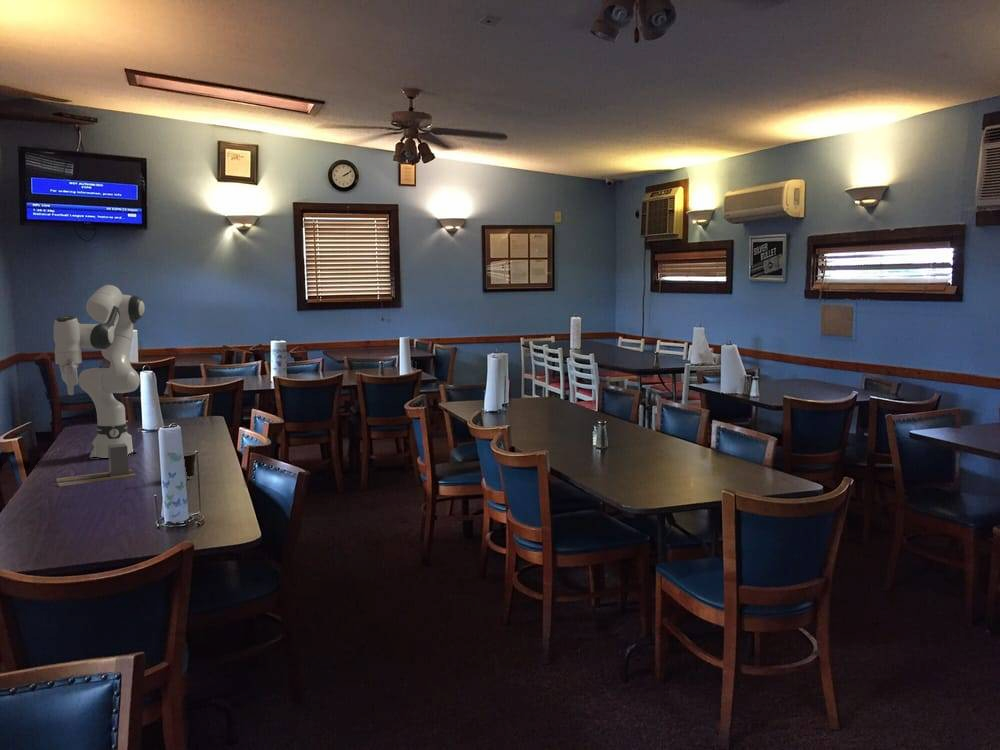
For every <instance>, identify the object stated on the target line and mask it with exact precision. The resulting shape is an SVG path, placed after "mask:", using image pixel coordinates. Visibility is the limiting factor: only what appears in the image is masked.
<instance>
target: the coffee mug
mask: <svg viewBox="0 0 1000 750" xmlns="http://www.w3.org/2000/svg"><path fill="white" fill-rule="evenodd" d="M183 451H184V459H185V467H186V472H187V476H189V477H190V476H193V475H194V476H195V468H196V454H197V453H196V451H192V450H191V451H190V450H189V451H188V450H186V451H185V450H183Z"/></svg>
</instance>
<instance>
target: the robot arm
mask: <svg viewBox="0 0 1000 750" xmlns="http://www.w3.org/2000/svg"><path fill="white" fill-rule="evenodd" d="M88 298H89V299H88V300H87V302H86V305H85V309H86V312H87V314H88V316H89V317H90V318H92V319H93V320H94V321H96V322H99V323H80V322H79V320H78V318H77V317H76V316H73V315H64V316H59V317H56V318H55V319H54V322H53V341H54V345H55V348H54V361H55V365H58V366H59V370H60V375H61V379H62V381H63V382H64V383H65V384H66V389H67V394H68V395H69V396H73V395H74V394H75V392H74V391H75V390H74V389H75V386H78V385H79V387H80V388H81V390H82V391H84V392H85V393H86V394H87V395H88V396H89V397H90V399H91V400H92V402H93V404H94V406H95V411H96V420H97V425H96V428H95V429H96V434H97V435H96V436H95V437H94V439H93V440H92V441H91V447H92V450H91V452H90V454H89V458H90V457H100V458H108V445H114V444H123V443H125V444H126V445H127V450H128V454H129V453H131V452H133V450H134V449H133V440H132V439H133V437H132V434H130V433H128V424H127V422H126V419H127V418H126V407H125V405H124V403H122V402H120V401H119V400H117V399H116V398H115V396H114V394H125V393H132V392H135V391H136V390H137V389H138V388H139V386H140V382H141V377H140V375H139V373H138V371H136V370H135V368H133V367H132V364H131V361H130V355H131V353H130V352H131V347H132V342H133V338H134V324H136V323H137V322H138V321H139V320H140V319H142V317H143V316H144V313H145V308H146V307H145V301H144V300H143V299H142V297H139V296H137V295H130V294H123V293H122V291H121V290H120V288H118V287H117V286H115V285H112V284H105V285H103V286H101V287H100V288H98V289H97V290H96V291H94V292H93V294H92V295H91V296H90V297H88ZM82 349H97V350H100V351H101V354H102V357H103V358H104V360H107V361H109V362H110V366H109V367H92V368H87V369H84V370H82V371H81V372H80V374H79V376H78V369H77V368H79V364H82V363H83V359H82V357H83V356H82Z"/></svg>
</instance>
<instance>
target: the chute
mask: <svg viewBox="0 0 1000 750" xmlns="http://www.w3.org/2000/svg"><path fill="white" fill-rule="evenodd" d="M129 478H137V474H136V473H133V469H129V474H127V475H119V476H111V477H110V475H109V471H108V472H99V473H90V474H83V475H75V476H73V475H72V476H65V477H58V478H56V479H55V480H56V482H57V486H58V487H67V486H72V485H73V486H75V485H80V484H81V485H82V484H89V483H95V482H96V483H97V482H105V481H113V480H119V479H129ZM72 480H73V481H72Z"/></svg>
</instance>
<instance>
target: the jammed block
mask: <svg viewBox="0 0 1000 750" xmlns="http://www.w3.org/2000/svg"><path fill="white" fill-rule="evenodd" d="M108 458H109V459H108V472H109V475H108V476H109V477H111V476H119V475H127V474H130V473H129V470H130V469H129V456H128V450H127V445H126V444H125V443H123V444H114V445H108Z"/></svg>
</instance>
